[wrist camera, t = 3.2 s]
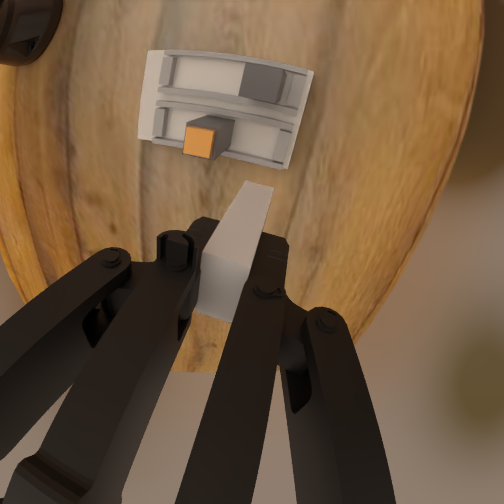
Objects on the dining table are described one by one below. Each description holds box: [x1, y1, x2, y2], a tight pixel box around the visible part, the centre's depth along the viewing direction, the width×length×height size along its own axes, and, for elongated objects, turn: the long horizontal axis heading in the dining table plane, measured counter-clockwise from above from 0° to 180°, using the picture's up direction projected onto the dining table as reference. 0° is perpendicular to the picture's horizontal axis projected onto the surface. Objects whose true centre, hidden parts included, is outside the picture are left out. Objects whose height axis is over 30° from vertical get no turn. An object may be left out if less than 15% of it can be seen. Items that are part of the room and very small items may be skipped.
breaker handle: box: [182, 115, 235, 160], centre depth 24 cm, size 3×3×6 cm
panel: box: [137, 49, 314, 171], centre depth 23 cm, size 18×11×8 cm, turn 78°
